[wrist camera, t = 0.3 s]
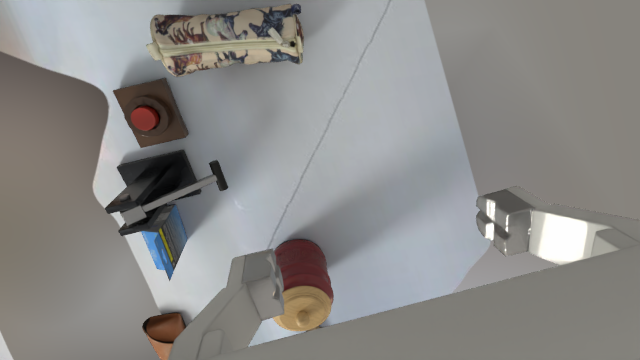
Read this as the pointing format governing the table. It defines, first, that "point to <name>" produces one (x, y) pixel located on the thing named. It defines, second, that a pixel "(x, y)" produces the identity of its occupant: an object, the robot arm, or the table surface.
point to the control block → (161, 101)
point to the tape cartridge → (166, 239)
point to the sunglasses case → (163, 332)
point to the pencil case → (227, 39)
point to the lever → (175, 194)
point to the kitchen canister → (303, 285)
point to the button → (144, 118)
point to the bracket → (151, 186)
